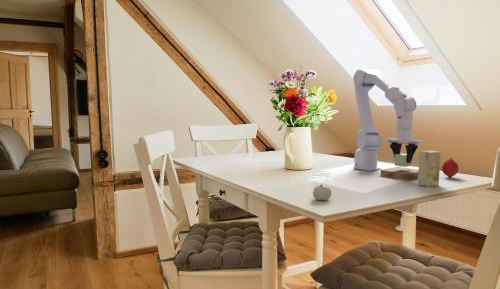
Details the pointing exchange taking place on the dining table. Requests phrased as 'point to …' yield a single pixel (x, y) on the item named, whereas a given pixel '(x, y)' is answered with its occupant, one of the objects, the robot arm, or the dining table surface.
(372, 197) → the dining table surface
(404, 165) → the sage cube
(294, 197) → the dining table surface
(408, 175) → the light brown block
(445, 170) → the onion
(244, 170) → the dining table surface
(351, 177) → the dining table surface
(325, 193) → the grey pumpkin
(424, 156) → the skincare box
